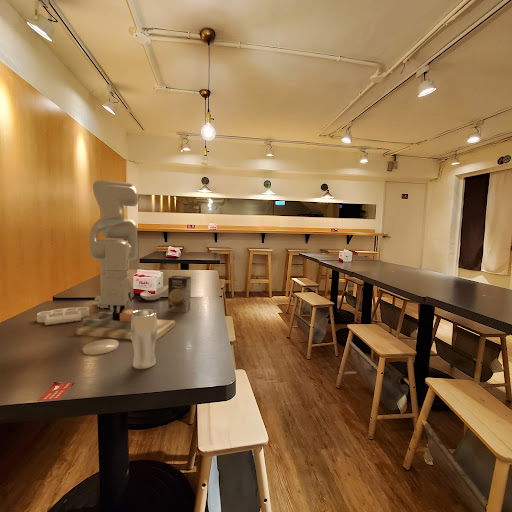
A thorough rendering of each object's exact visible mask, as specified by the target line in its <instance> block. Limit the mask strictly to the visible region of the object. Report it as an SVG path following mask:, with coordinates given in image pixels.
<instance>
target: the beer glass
mask: <svg viewBox="0 0 512 512" xmlns="http://www.w3.org/2000/svg"><path fill="white" fill-rule="evenodd" d="M137 310H138V309H137ZM157 319H158V317H157V310H154V309H151V308H150V309H139V310H138V311H134V312H132V313H131V338H132V339H131V342H132V347H133V355H134V356H133V359H132V360H133V361H132V367H133V368H134V369H136V370H146V369H150V368H151V367H154V366H155V365H156V363H157V362H156V360H157V359H156V355H155V345H156V341H157V340H156V336H157Z"/></svg>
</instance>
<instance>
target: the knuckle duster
mask: <svg viewBox="0 0 512 512" xmlns="http://www.w3.org/2000/svg"><path fill="white" fill-rule="evenodd" d="M87 315H88V316H90V307H88V306H82V307H67V308H66V307H64V308H57V309H55V308H54V309H52V310H45V311H44V310H43V311H40V312H38V313H37V314H36V322H37V323H44V325H45V326H49V325H50V326H51V325H59V324H66V323H72V322H74V321H75V322H80V321H81V322H82V318H84V317H83V316H86V317H88V316H87ZM81 317H82V318H81ZM75 322H74V323H75Z"/></svg>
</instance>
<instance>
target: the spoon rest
mask: <svg viewBox="0 0 512 512" xmlns="http://www.w3.org/2000/svg"><path fill="white" fill-rule="evenodd" d="M156 289H157V290H156V293H155V294H151V293H149V292H148V291H149V290H145V291H142V292H140V294H139V295H140V297H141V298H142V299H144V300H145V301H157V300H156V299H158V300H159V299H161V298H162V296H163V295H164V294H165V293H166V292H167V291H168V284H167V285H164V286H160V287H158V288H156Z"/></svg>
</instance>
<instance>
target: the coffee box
mask: <svg viewBox="0 0 512 512" xmlns="http://www.w3.org/2000/svg"><path fill="white" fill-rule="evenodd" d="M191 277H192V276H184V275H171V276H170V277H168V279H167V281H168V284H167V285H168V290H167V291H168V292H167V312H171V311H173V312H174V313H185V312H186V313H188V311H190V310H191V290H192V289H191V287H192V286H191V283H192V282H191V280H192V279H191ZM189 309H190V310H189Z"/></svg>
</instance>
